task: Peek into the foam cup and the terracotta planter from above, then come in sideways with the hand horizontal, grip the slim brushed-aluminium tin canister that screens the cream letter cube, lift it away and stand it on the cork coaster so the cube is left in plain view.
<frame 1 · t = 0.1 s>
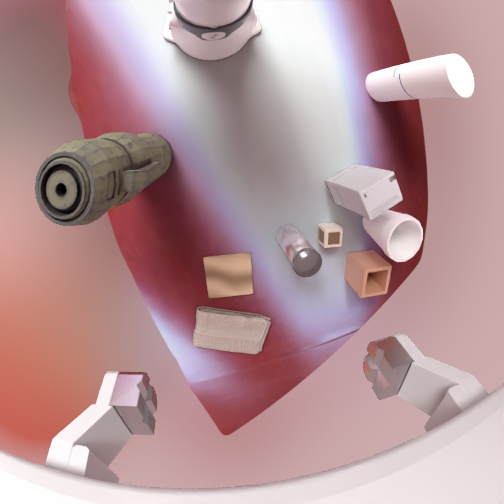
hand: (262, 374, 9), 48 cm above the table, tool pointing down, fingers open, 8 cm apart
tin canister: (287, 235, 60), on the table
foam cup: (373, 219, 61), on the table
washcloth: (230, 328, 68), on the table
skincare box: (344, 181, 57), on the table
cylindrical container: (378, 86, 49), on the table
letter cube: (326, 231, 61), on the table
terracotta planter: (358, 264, 65), on the table
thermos: (151, 155, 50), on the table
cork coaster: (228, 275, 61), on the table
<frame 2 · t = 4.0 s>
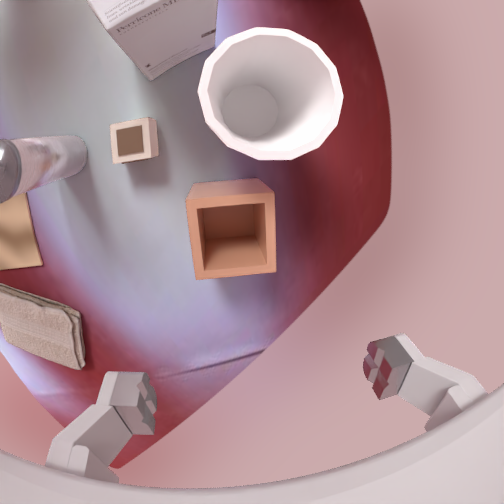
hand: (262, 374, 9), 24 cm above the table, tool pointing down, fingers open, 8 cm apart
tin canister: (70, 155, 26), on the table
foam cup: (249, 111, 28), on the table
washcloth: (40, 322, 34), on the table
skincare box: (172, 44, 23), on the table
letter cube: (140, 140, 27), on the table
terracotta planter: (227, 211, 31), on the table
cork coaster: (10, 233, 28), on the table
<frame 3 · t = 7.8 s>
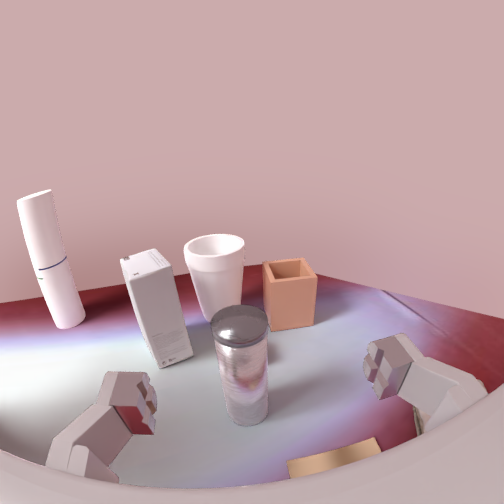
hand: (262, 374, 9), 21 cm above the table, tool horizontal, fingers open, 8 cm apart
tin canister: (247, 410, 30), on the table
foam cup: (221, 314, 49), on the table
washcloth: (457, 444, 20), on the table
skincare box: (167, 348, 41), on the table
cylindrical container: (70, 319, 46), on the table
terracotta planter: (287, 316, 47), on the table
cork coaster: (345, 488, 19), on the table
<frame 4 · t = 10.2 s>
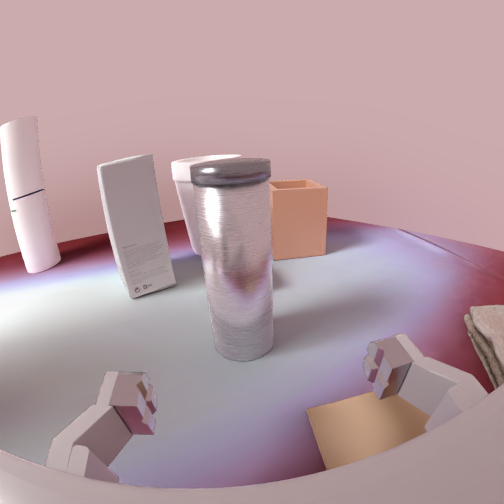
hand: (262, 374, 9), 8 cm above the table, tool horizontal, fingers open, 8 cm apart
tin canister: (244, 340, 22), on the table
foam cup: (214, 248, 41), on the table
skincare box: (144, 280, 33), on the table
cylindrical container: (44, 265, 39), on the table
terracotta planter: (293, 247, 40), on the table
cork coaster: (406, 448, 11), on the table
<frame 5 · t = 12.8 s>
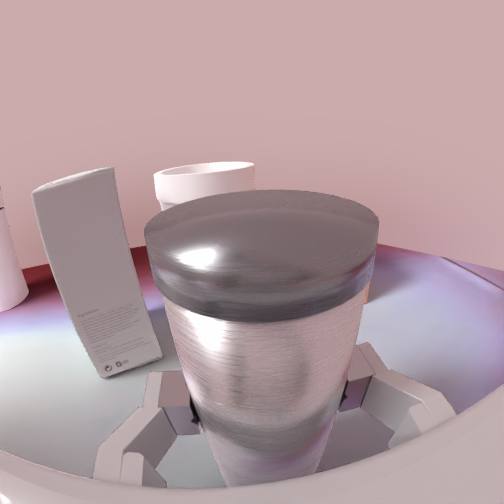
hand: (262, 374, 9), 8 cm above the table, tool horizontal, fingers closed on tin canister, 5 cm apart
tin canister: (268, 473, 12), on the table, touching gripper
foam cup: (216, 290, 31), on the table
skincare box: (121, 343, 22), on the table
cylindrical container: (10, 300, 28), on the table
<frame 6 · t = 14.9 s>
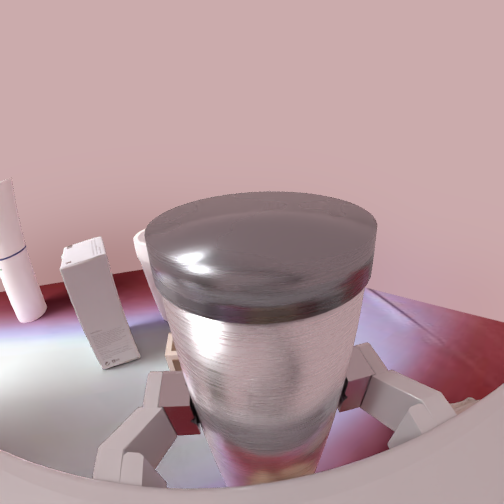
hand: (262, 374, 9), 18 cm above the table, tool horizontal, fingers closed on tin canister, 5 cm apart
tin canister: (268, 473, 12), point 9 cm above the table, touching gripper
foam cup: (180, 312, 43), on the table
skincare box: (115, 347, 35), on the table
cylindrical container: (32, 313, 40), on the table
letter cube: (189, 366, 32), on the table
when the fingers open (9 cm above the table, at t = 17.0 s): tin canister stays where it is, resting on cork coaster.
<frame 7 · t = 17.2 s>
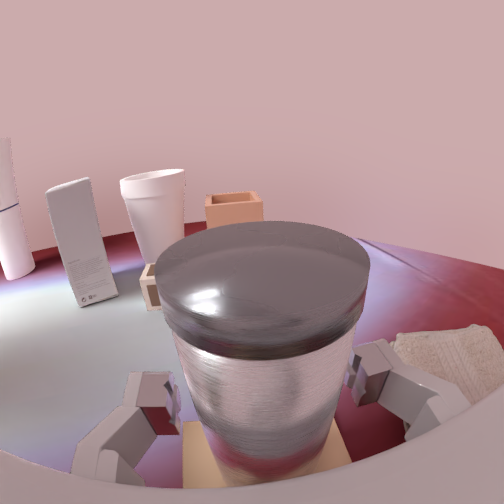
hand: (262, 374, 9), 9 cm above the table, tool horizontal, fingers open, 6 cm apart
tin canister: (268, 478, 12), resting on cork coaster
foam cup: (164, 259, 42), on the table
washcloth: (463, 418, 14), on the table
skincare box: (95, 290, 34), on the table
cylindrical container: (20, 272, 40), on the table
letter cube: (166, 300, 32), on the table
terracotta planter: (236, 259, 41), on the table
cork coaster: (268, 480, 12), on the table
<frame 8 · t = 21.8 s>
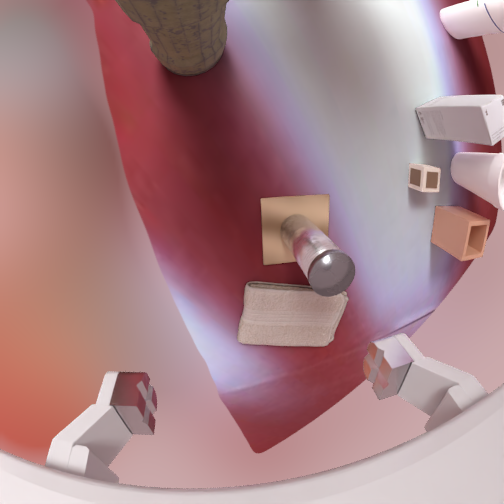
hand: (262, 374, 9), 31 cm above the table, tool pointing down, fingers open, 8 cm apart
tin canister: (296, 230, 41), resting on cork coaster
foam cup: (459, 168, 41), on the table
washcloth: (290, 312, 48), on the table
skincare box: (433, 115, 36), on the table
cylindrical container: (451, 23, 29), on the table
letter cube: (416, 175, 40), on the table
terracotta planter: (445, 223, 45), on the table
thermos: (191, 48, 29), on the table
cork coaster: (295, 229, 41), on the table
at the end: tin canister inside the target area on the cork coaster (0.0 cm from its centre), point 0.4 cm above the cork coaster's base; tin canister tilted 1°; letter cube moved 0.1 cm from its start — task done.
